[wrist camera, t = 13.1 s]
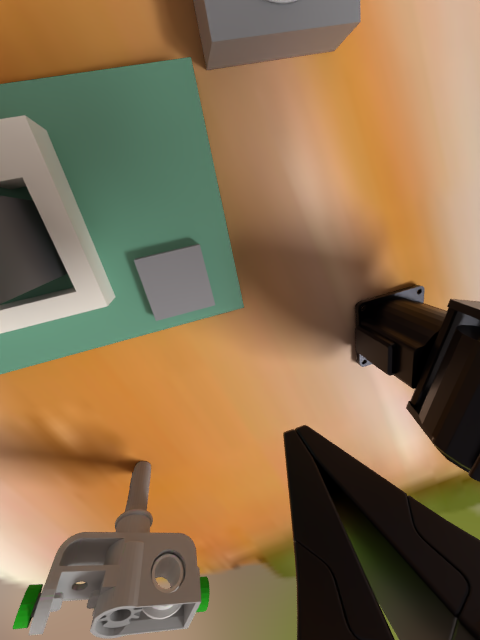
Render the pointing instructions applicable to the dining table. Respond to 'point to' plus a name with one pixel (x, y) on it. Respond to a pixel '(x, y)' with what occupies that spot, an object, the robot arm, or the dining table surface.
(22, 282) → the plug
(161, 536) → the mechanical component
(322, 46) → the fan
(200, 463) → the dining table surface
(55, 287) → the board
